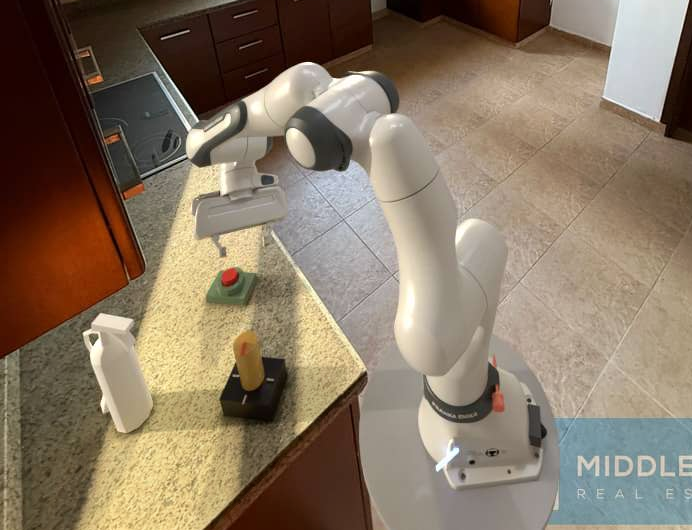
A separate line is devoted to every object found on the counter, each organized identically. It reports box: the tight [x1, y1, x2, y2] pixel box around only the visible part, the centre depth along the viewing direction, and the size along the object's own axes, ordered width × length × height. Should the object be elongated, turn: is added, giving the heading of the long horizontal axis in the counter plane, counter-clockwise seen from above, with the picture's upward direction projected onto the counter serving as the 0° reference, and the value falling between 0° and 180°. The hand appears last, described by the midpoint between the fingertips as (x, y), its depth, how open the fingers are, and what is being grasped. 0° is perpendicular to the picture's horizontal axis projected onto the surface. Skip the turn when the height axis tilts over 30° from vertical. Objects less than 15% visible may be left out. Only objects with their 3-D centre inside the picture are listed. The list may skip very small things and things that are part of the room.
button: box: [222, 267, 238, 286], centre depth 107 cm, size 4×4×2 cm
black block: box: [218, 353, 289, 423], centre depth 86 cm, size 10×9×5 cm
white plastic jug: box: [82, 312, 154, 434], centre depth 81 cm, size 7×12×25 cm, turn 80°
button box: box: [205, 266, 258, 307], centre depth 108 cm, size 10×7×4 cm
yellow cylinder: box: [232, 330, 265, 391], centre depth 83 cm, size 4×4×10 cm
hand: (245, 251), depth 94 cm, fingers open, 8 cm apart
